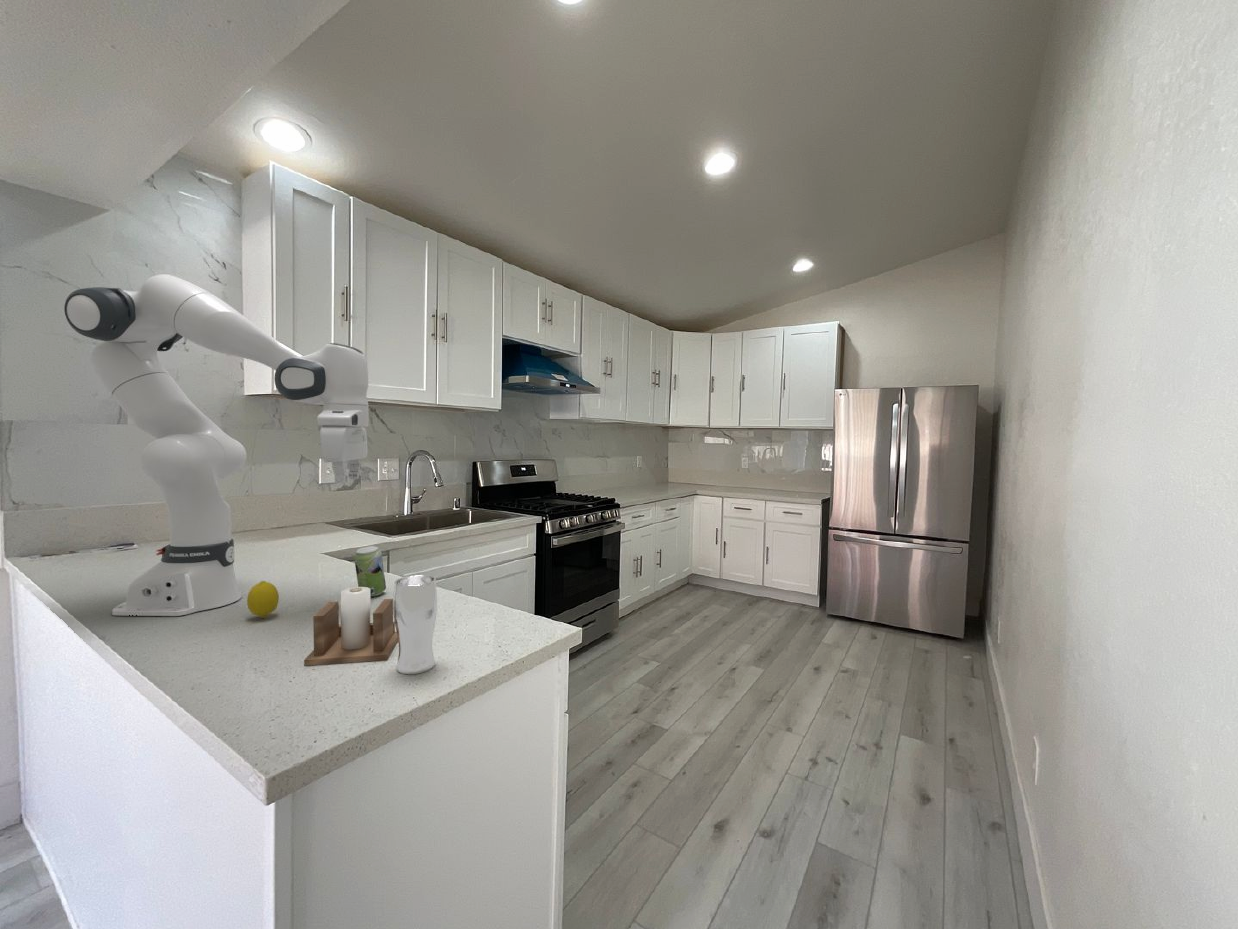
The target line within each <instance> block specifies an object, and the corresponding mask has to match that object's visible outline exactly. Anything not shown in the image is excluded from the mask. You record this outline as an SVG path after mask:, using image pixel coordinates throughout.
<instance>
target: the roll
mask: <svg viewBox="0 0 1238 929" xmlns="http://www.w3.org/2000/svg"><path fill="white" fill-rule="evenodd" d="M370 623H371V597H370V588H368V587H358V586H353V587H349V588H345V589H343V590H341V591H340V625H341V648H342V649H346V650H354V649H360V648H363V647H366V646H368V645H369V644H370Z"/></svg>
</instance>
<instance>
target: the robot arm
mask: <svg viewBox="0 0 1238 929" xmlns="http://www.w3.org/2000/svg"><path fill="white" fill-rule="evenodd" d="M63 306H64V310H63V311H64V316H65V318H66V321H67V323H68V324H69V326H70V327H71V328H72V329H73V330H74V331H75V332H76V333H78V334H79V335H82V336H83V337H87V338H90V339H93V340H97V341H102V342H100V343H98V344H97V345H96V346H94V348H93V349H92V350H91V353H90V360H91V363H92V366H93V367H94V370H95V372H96V374H97V375H98V378H99V379H100V380H101V383H102V384H103V386H104V387H105V388H106V389H107V391H108V392H109V394H110V395H111V397H113V399H114V400H115V401H116V402H117V404H118V405H119V407H121V409H122V410H123V412H124V413H125V414H126V415H127V416H128V418H129V419H130V420H131V422H132V423H133V424H134V425H135V426H136V427H137V428H138V429H140V430H141V431H143V432H144V433H147V434H149V435H151V436H152V437H153V438H155V440H153V441H151V442H149V443H148V444H147V445H146V446H145V447H144V449H143V451H142V453H141V458H140V462H141V468H142V469H143V470H144V473H146V475H147V476H148V477H149V478H151V479H152V480H153V481H154V482H155V483H156V484H157V486H158V487H159V490H160V492H161V494H162V495H161V496H163V500H164V503H165V505H166V509H167V514H168V515H167V516H168V532H169V533H168V534H169V535H168V536H169V544H168V545H165V546H164V547H162V548H160V549H157V550H156V554H155V555H156V556H159V555H161V559H160V562H158V563H157V564H156V565H154V566H152V567H151V568H150V569H148V570H147V571H146V572H144V573H143V574H141V575H139V576H138V577H137V578H135V579H134V580H133V581H132V582H131V583H130V585H129V586H128V590H127V593H126V600H125V601H124V602H122V603H119V604H118V605H116V606H114V607H113V609H112V613H111V615H112V616H129V615H130V617H131V616H132V615H133V617H134V616H136V615H137V617H138V616H140V617H141V616H143V617H144V616H145V617H146V616H147V617H150V616H151V617H152V616H153V617H155V616H156V617H157V616H158V617H180V616H184V615H190V614H193V613H197V612H201V611H207V610H211V609H215V608H219V607H223V606H227V605H230V604H233V603H234V602H237V601H239V600H240V599H241V598H242V594H241V592H240V589H239V586H238V583H237V578H236V572H235V567H234V566H235V565H234V563H235V541H234V539H233V538H232V515H231V514H232V513H231V512H232V510H231V505H230V504H229V503H228V502H226V500H225V499H224V497H223V495H222V494H221V491H220V487H219V484H218V480H224V479H227V478H229V477H231V476H233V475H235V474H236V473H239V471H241V470H242V469H243V468H244V466H245V465H246V463H247V457H248V455H247V451H246V448H245V447H244V445H243V444H242V443H241V442H240V441H238V440H237V439H235V438H233V437H231V436H230V435H228V434H227V432H226V433H225V431H223V430H222V429H221V428H220V427H219V426H218V425H217V424H216V423H214V421H212V420H211V419H210V418H209V417H208V416H207V415H206V414H205V413H203V412H202V411H201V410H200V409H199V408H198V407H197V406H196V405H195V404H194V403H193V401H191V400H190V399H189V397H188V396H187V395H186V393H185V392H184V391H183V390H182V388H181V387H180V386H179V385H178V383H177V382H176V381H175V379H174V378H173V377H172V376H171V374H170V373H169V372H168V370H167V369H166V368H165V366H163V364H162V363H161V361H160V359H159V358H158V352H167V351H169V350H171V349H172V347H173V346H174V344H175V343H177V342H179V341H180V340H182V339H183V338H184V339H186V340H187V341H190V342H191V343H194V344H196V345H198V346H201V347H203V348H205V349H208V350H211V351H213V352H217V353H219V354H220V353H221V354H225V355H230V356H235V357H237V358H242V359H247V360H249V361H252V362H253V361H254V362H256V363H260V364H262V365H264V366H266V367H269V368H271V369H272V370H274V371H275V373H274V377H273V378H274V386H275V388H276V390H277V391H278V393H279V394H280V395H281V396H282V397H284V398H285V399H287V400H290V401H293V402H296V403H303V404H309V405H317V406H321V407H323V409H322V411H321V412H320V413H319V414H318V415H317V421H316V422H317V426H320V430H319V432H320V433H319V436H320V440H319V441H320V449H321V456H322V460H323V461H324V462H325V463H331V464H332V465H331V467H332V471H333V474H334V482H335V483H336V484H342V483H345V482H347V474H346V472H345V471H346V470H345V467H346V462H348V461H349V462H348V463H349V471H348V479H350V480H358V479H359V478H360V468H361V462H362V459H363V460H365V459H366V458H367V457H368V452H369V451H368V436H367V435H368V434H367V430H366V428H367V427H369V426H370V425H369V424H370V420H369V416H370V415H369V413H370V412H369V407H370V406H369V405H370V404H369V402H368V397H367V394H368V390H369V372H368V363H367V358H366V355H365V354H364V353H363V351H361V350H360V349H358V348H356V347H354V346H349V345H346V344H342V343H336V342H330V343H326V344H325V345H324V346H323V347H322V348H320V349H318V350H316V351H314V352H312V353H309V354H307V355H303V354H301V353H300V352H299V351H296V350H295V349H293V348H291V347H289V346H288V345H287V344H284V343H283V342H281V341H279V340H278V339H276V338H275V337H273V336H272V335H270V334H269V333H267V332H266V331H264V330H263V329H262V328H261V327H259V326H258V325H257V324H255V323H254V322H252V321H251V320H250V319H248V318H247V317H246V316H244V315H243V314H242V313H240V311H238V310H236V309H235V308H234V307H233V306H231V305H230V304H228V302H225V301H224V300H222V298H219V297H218V296H216V295H215V294H213V293H212V292H209V291H208V290H206V289H204V288H202V287H200V286H198V285H196V284H195V283H192V282H190V281H187V280H185V279H183V278H181V277H178V276H175V275H172V274H168V273H167V274H165V273H164V274H161V273H160V274H156V275H153V276H151V277H149V278H147V279H146V280H145V281H144V282H143V283H142V285H141V287H140V288H139V290H129V289H126V290H124V289H121V288H119V287H102V286H101V287H99V286H98V287H95V286H94V287H83V288H78V289H76V290H74V291H72V292H71V293H69V295H68V296H67V297H66V299H65V303H64V305H63Z"/></svg>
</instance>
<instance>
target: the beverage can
mask: <svg viewBox="0 0 1238 929" xmlns="http://www.w3.org/2000/svg"><path fill="white" fill-rule="evenodd" d="M353 558H354V566H355V573H356V580H357V587H368V588H370V596H374V597H376V596H375V595H377V596H380V595H381V594H383V592H384V591H385V590H386V589H387V585H386V578H385V577H386V576H385V570H384V562H383V554H382V550H381V549H379V546H376V545H367V546H363V547H362V546H361V547H360V548H358V549H356V551H355V554H354V557H353Z"/></svg>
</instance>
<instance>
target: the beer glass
mask: <svg viewBox="0 0 1238 929" xmlns="http://www.w3.org/2000/svg"><path fill="white" fill-rule="evenodd" d="M393 584H394V588H393V589H394V590H393V598H392V599H393V622H395V632H397V636H398V642H397V643H398V657H397V663H396V671H397V672H398V673H400V674H402V675H418V674H422V673H425V672H428V671H430V670H431V669H433V668H434V667H435V665H436V660H435V655H434V650H433V637H434V632H435V627H436V621H437V614H438V613H437V612H438V591H437V578H436V577H435V576H433V575H429V574H427V575H426V574H419V575H418V574H417V575H408V576H404V577H400V578H397V579H396V580H394V583H393Z"/></svg>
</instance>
